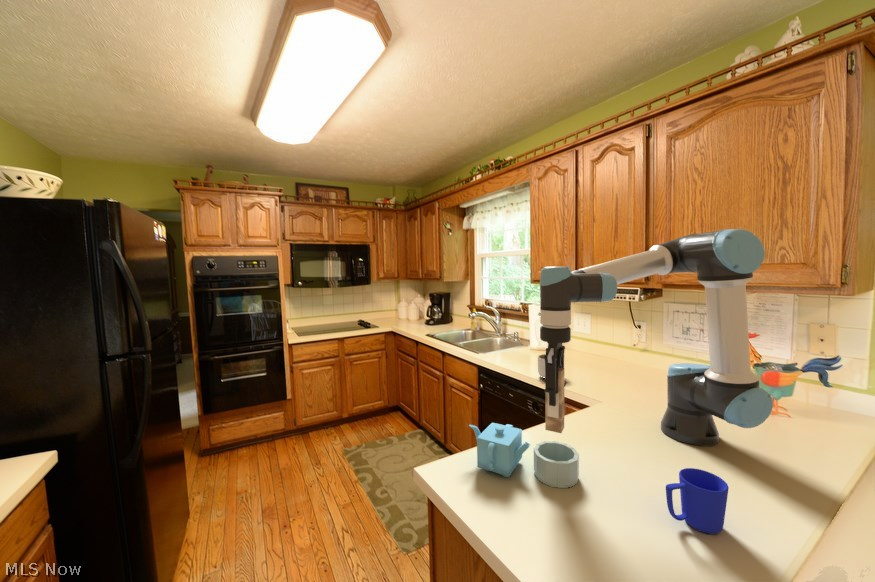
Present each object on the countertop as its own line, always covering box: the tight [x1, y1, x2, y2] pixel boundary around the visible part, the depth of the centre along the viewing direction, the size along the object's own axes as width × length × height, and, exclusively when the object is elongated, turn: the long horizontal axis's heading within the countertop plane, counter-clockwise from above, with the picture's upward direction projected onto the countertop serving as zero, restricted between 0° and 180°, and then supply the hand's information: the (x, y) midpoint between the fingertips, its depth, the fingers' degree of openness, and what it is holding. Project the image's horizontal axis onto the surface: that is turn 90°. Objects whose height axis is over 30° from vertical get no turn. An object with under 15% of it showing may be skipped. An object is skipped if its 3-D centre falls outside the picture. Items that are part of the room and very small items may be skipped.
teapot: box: [468, 422, 531, 478], centre depth 94 cm, size 16×18×11 cm
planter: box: [537, 353, 546, 378], centre depth 168 cm, size 12×12×11 cm
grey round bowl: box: [533, 440, 580, 489], centre depth 89 cm, size 11×11×6 cm
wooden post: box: [544, 367, 565, 434], centre depth 88 cm, size 4×4×16 cm
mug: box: [665, 467, 730, 535], centre depth 71 cm, size 8×12×10 cm
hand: (555, 413), depth 89 cm, fingers closed on wooden post, 4 cm apart
